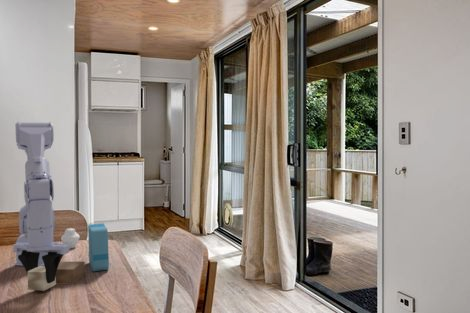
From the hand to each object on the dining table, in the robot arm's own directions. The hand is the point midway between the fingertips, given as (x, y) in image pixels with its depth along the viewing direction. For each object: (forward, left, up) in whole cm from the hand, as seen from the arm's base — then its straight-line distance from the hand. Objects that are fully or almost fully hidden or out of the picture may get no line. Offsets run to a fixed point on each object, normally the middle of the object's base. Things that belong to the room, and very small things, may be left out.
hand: (42, 281), depth 102 cm
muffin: (-20, +40, -3) cm, 45 cm away
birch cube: (0, 0, -1) cm, 1 cm away
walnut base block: (0, +9, -3) cm, 9 cm away
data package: (+3, +21, -3) cm, 21 cm away
